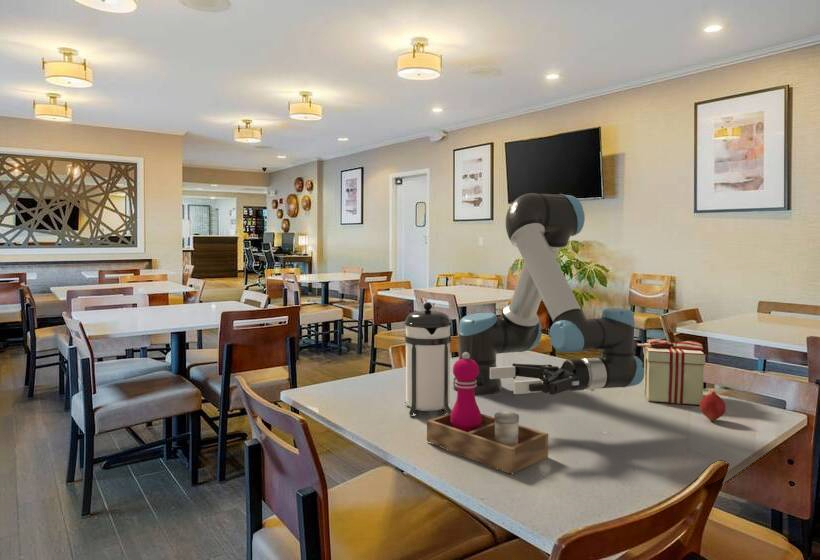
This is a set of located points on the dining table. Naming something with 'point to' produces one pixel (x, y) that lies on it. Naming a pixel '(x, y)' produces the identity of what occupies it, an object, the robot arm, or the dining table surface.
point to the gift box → (673, 371)
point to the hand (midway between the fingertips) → (501, 380)
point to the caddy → (492, 441)
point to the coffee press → (427, 360)
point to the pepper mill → (466, 395)
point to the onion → (712, 406)
